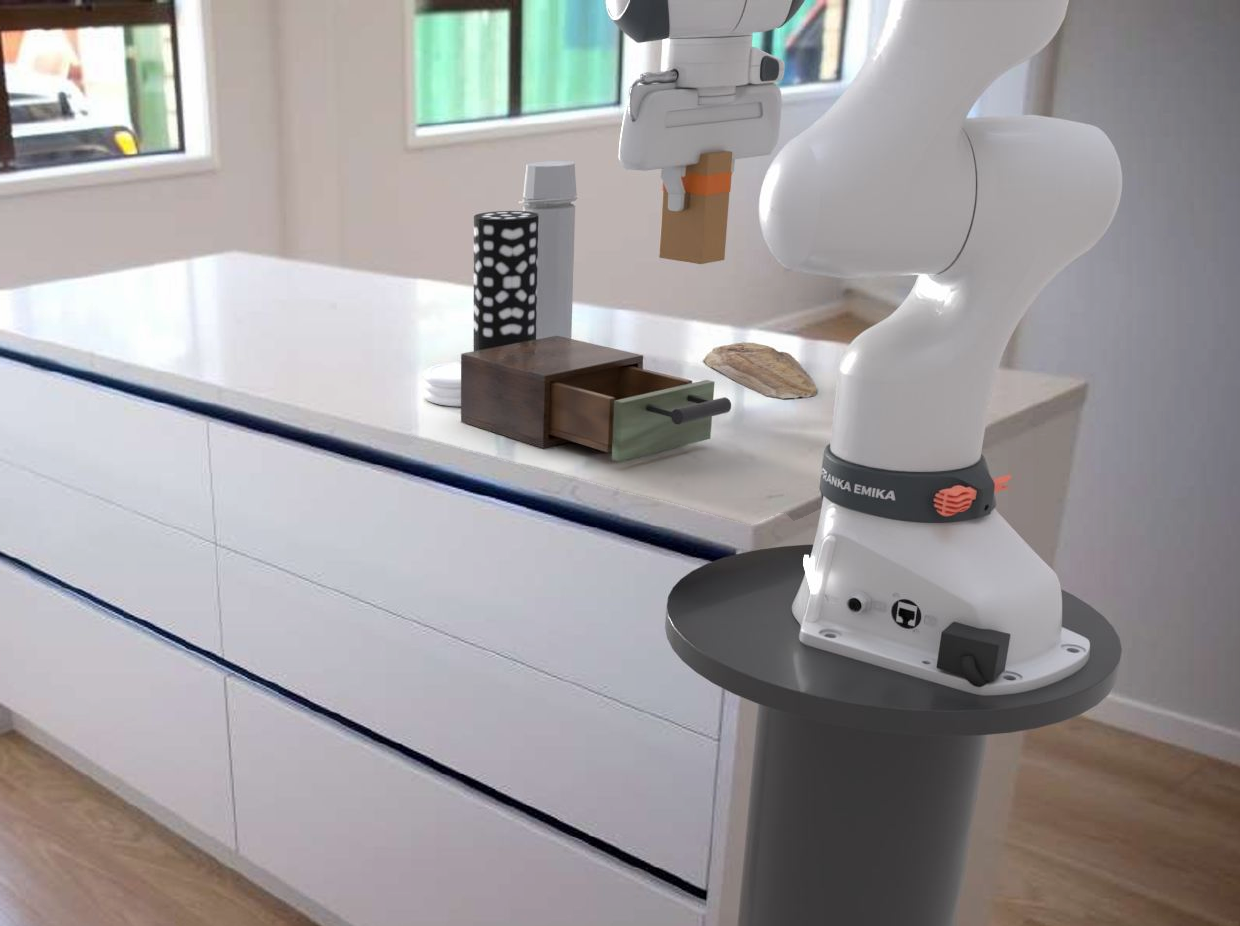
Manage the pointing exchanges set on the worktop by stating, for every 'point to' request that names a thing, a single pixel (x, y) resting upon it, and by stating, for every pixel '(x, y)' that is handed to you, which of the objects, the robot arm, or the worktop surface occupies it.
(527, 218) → the white-spotted black cylinder
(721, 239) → the block
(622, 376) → the drawer
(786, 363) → the fish fossil
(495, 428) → the cabinet
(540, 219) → the water bottle
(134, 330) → the worktop surface
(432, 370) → the white round shallow piece
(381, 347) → the worktop surface
